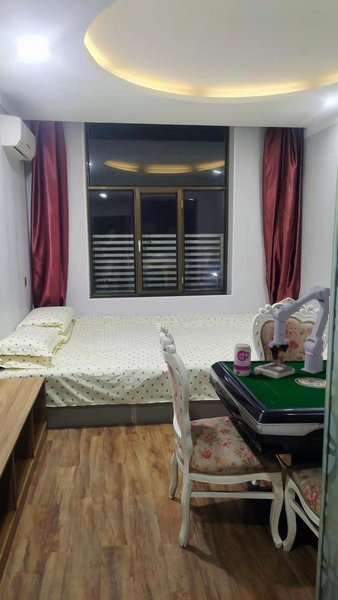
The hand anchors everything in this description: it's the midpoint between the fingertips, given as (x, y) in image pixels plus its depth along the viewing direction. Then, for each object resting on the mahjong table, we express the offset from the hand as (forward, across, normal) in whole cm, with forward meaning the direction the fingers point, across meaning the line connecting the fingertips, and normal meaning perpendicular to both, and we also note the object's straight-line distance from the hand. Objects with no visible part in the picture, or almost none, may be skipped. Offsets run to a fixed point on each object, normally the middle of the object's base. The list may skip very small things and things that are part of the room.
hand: (278, 358), depth 215 cm
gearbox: (+8, -2, +2) cm, 8 cm away
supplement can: (+8, -16, +10) cm, 20 cm away
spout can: (+2, 0, 0) cm, 2 cm away
